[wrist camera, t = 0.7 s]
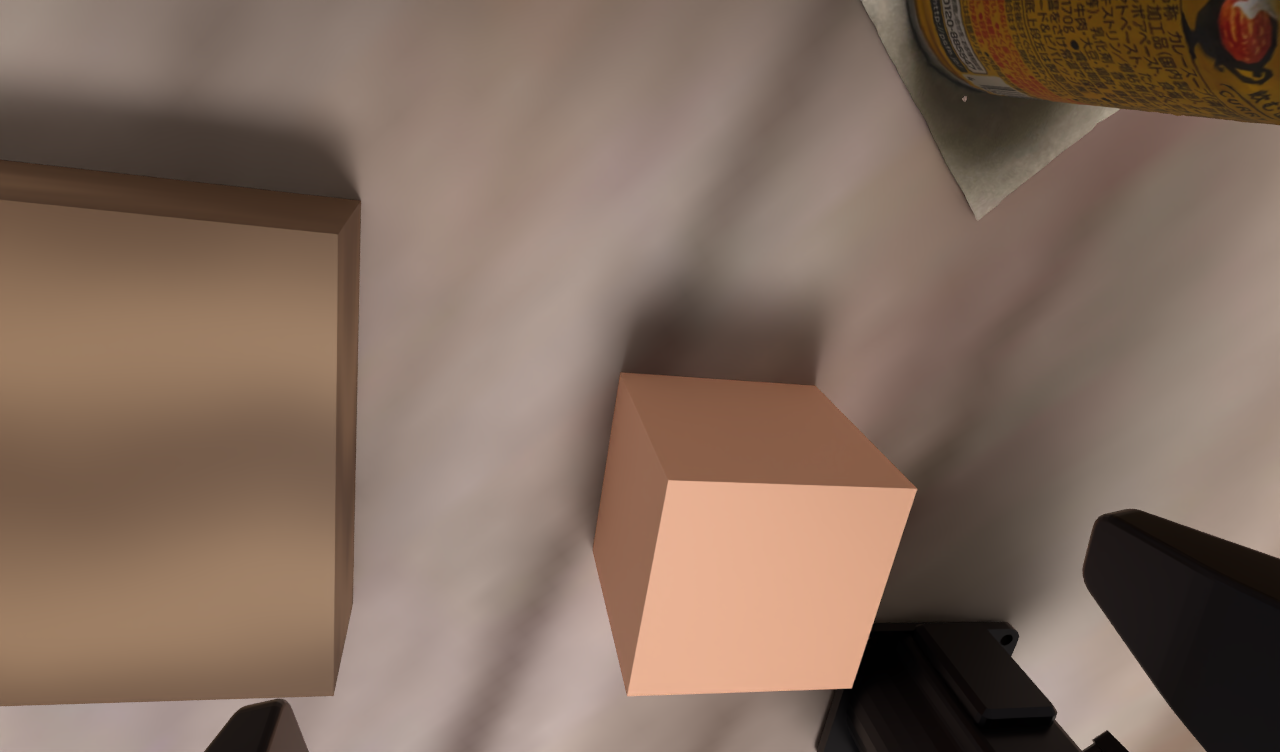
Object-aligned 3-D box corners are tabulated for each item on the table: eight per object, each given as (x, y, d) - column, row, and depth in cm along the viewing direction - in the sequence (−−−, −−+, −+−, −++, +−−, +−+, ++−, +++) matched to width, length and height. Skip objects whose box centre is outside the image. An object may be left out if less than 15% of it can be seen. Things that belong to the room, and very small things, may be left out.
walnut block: (354, 595, 23) (333, 695, 20) (-123, 595, 21) (-250, 714, 17) (363, 197, 19) (338, 234, 15) (-242, 128, 16) (-446, 153, 13)
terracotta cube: (771, 550, 26) (851, 688, 20) (592, 548, 24) (627, 696, 19) (814, 384, 23) (917, 488, 18) (619, 371, 22) (668, 480, 17)
